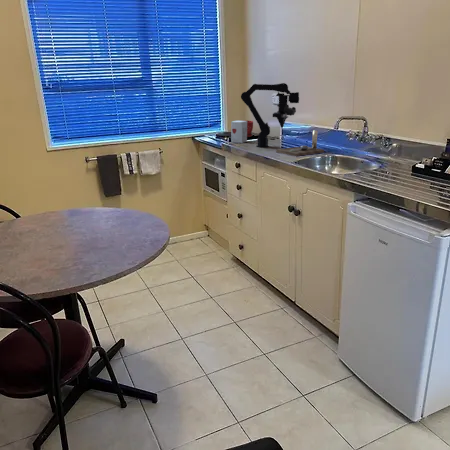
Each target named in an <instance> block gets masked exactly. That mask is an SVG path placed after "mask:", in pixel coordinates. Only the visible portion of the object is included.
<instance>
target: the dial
mask: <svg viewBox="0 0 450 450" xmlns="http://www.w3.org/2000/svg"><path fill="white" fill-rule="evenodd" d="M318 134H319V133H318V130H317V129H315V130H312V137H311V138H312V139H311V148H307V147H309V146H308V145H300V146H299V147H300V149H291V151H293V150H307V149H316V148H317V146H318ZM317 149H318V148H317Z"/></svg>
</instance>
